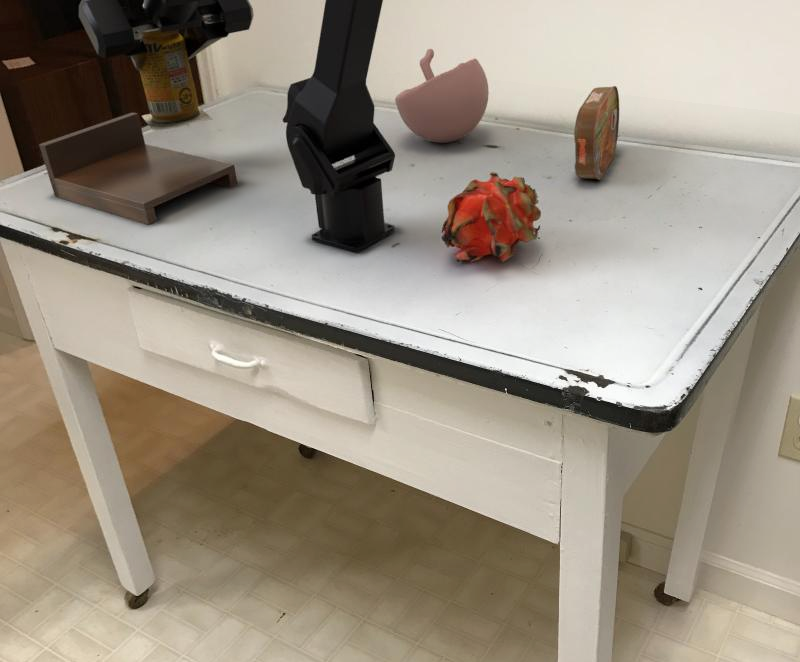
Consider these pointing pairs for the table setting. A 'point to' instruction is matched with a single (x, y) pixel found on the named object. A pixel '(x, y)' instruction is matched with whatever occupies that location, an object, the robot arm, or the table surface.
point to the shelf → (125, 169)
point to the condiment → (169, 82)
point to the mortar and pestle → (445, 101)
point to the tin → (596, 132)
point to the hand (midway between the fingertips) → (161, 61)
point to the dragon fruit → (491, 218)
